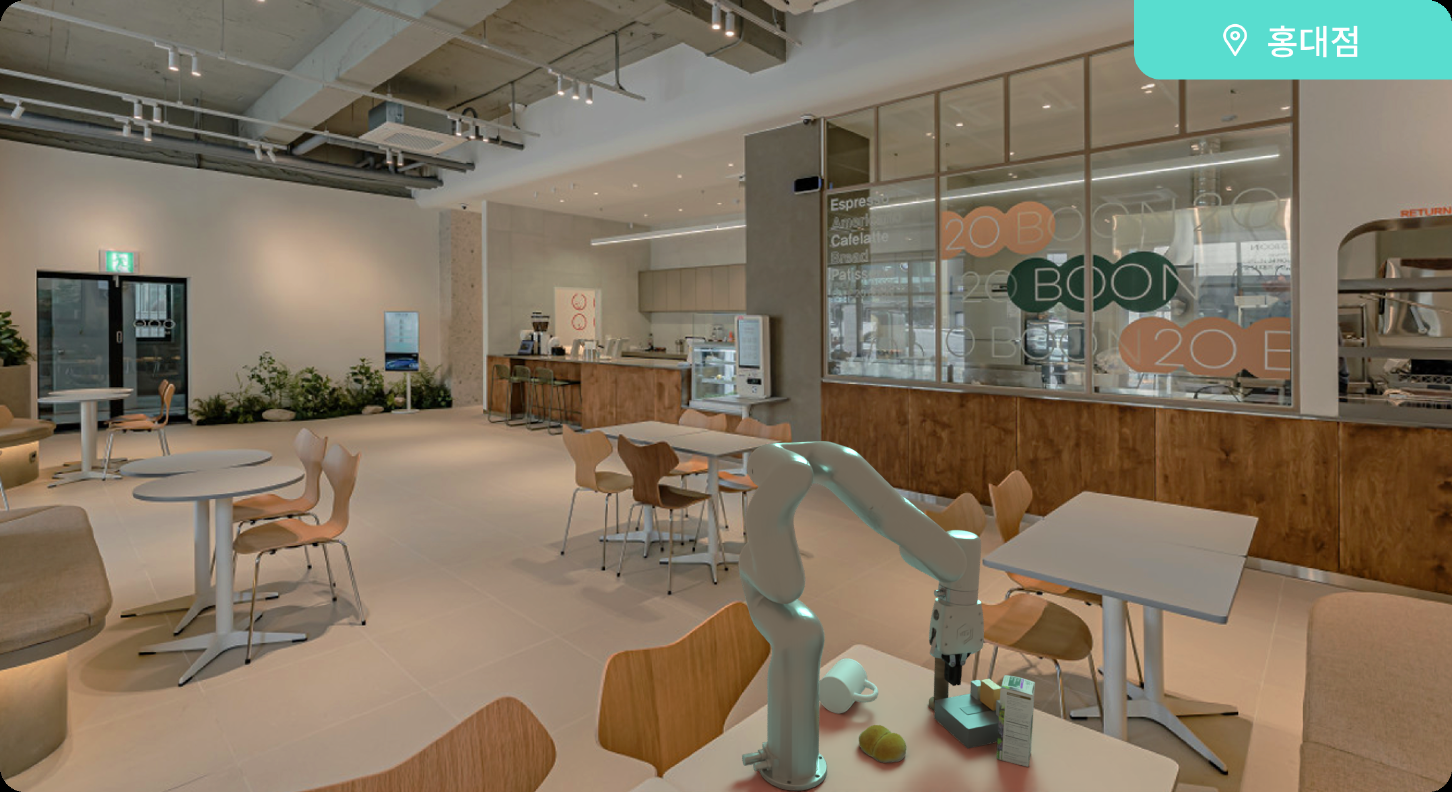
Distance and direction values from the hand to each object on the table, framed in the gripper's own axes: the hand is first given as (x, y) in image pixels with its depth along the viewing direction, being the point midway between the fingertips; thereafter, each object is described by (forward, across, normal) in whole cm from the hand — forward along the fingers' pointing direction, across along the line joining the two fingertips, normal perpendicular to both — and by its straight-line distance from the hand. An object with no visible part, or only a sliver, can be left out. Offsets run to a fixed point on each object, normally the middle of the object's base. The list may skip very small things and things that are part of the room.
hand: (952, 682), depth 138 cm
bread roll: (+12, -16, -1) cm, 20 cm away
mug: (+12, -14, +16) cm, 24 cm away
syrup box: (+11, +7, -10) cm, 16 cm away
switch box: (+10, +7, 0) cm, 13 cm away
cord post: (+11, +4, +9) cm, 15 cm away
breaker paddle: (+6, +10, 0) cm, 11 cm away
